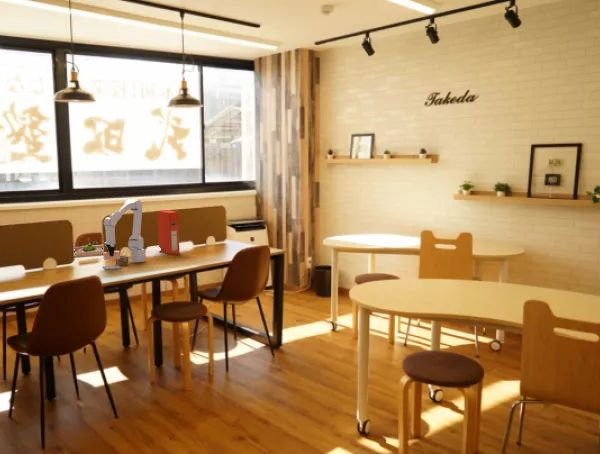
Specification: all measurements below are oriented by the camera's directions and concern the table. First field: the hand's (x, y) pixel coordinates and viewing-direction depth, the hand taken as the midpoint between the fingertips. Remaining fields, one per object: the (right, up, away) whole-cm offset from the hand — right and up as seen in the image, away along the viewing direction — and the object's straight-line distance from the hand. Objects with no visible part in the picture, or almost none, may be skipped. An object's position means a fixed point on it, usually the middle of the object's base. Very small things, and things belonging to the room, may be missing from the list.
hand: (111, 255), depth 359 cm
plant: (-34, -1, +52) cm, 62 cm away
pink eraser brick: (0, -2, 0) cm, 2 cm away
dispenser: (+3, -7, +12) cm, 14 cm away
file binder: (+25, -1, +55) cm, 61 cm away
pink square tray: (-34, -1, +52) cm, 62 cm away
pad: (0, -8, +1) cm, 8 cm away
